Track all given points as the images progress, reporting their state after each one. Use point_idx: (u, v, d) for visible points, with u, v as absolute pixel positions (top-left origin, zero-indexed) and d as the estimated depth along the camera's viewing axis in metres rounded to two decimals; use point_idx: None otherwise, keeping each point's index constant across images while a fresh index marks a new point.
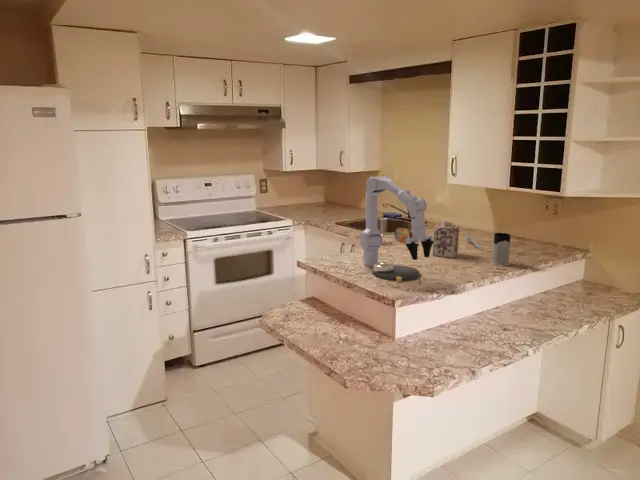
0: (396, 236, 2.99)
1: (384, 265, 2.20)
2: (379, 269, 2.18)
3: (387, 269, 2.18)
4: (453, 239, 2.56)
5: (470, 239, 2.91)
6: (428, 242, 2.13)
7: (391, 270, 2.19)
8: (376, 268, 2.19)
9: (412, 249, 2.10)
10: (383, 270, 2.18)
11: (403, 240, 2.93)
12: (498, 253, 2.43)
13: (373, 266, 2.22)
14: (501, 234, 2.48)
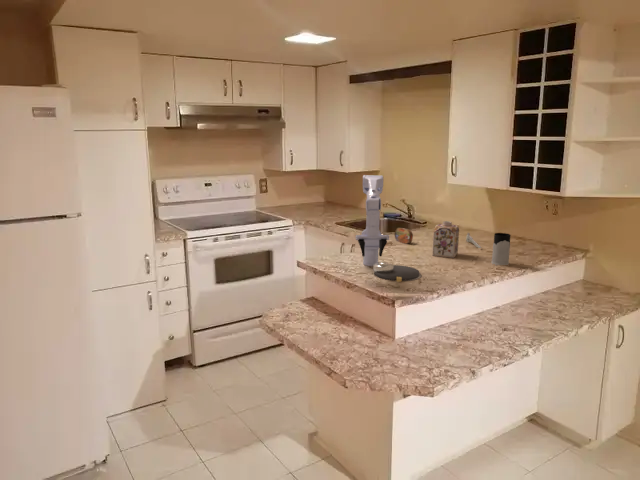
0: (396, 236, 2.99)
1: (384, 265, 2.20)
2: (379, 269, 2.18)
3: (387, 269, 2.18)
4: (453, 239, 2.56)
5: (470, 239, 2.90)
6: (381, 242, 2.16)
7: (391, 270, 2.19)
8: (376, 268, 2.19)
9: None
10: (383, 270, 2.18)
11: (403, 240, 2.93)
12: (498, 253, 2.43)
13: (373, 266, 2.22)
14: (501, 234, 2.48)
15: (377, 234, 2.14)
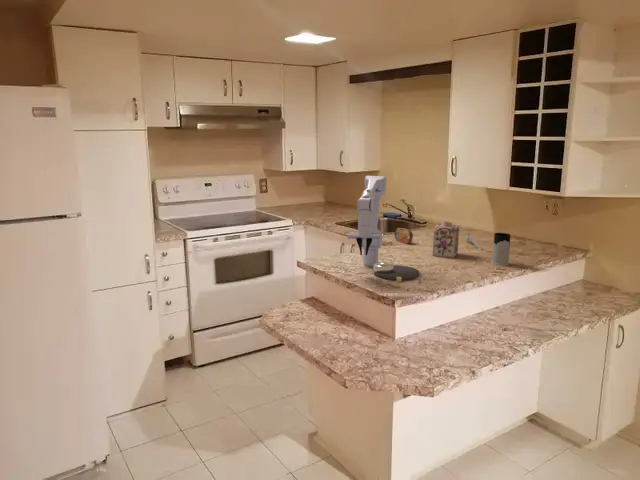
0: (396, 236, 2.99)
1: (384, 265, 2.20)
2: (379, 269, 2.18)
3: (387, 269, 2.18)
4: (453, 239, 2.56)
5: (470, 239, 2.90)
6: (366, 241, 2.19)
7: (391, 270, 2.19)
8: (376, 268, 2.19)
9: None
10: (383, 270, 2.18)
11: (403, 240, 2.93)
12: (498, 253, 2.43)
13: (373, 266, 2.22)
14: (501, 234, 2.48)
15: (368, 233, 2.17)
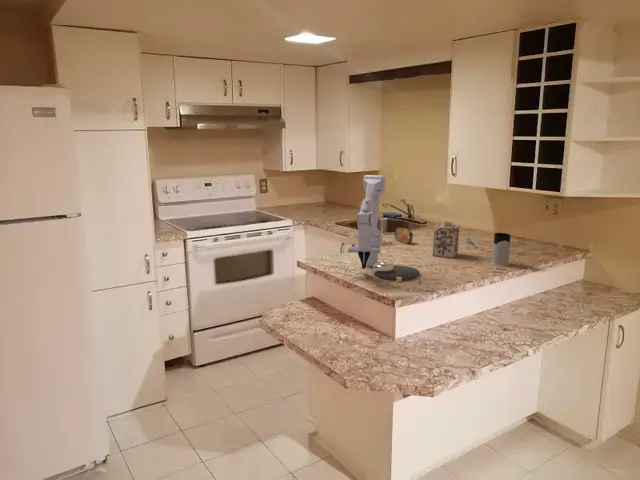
0: (396, 236, 2.99)
1: (384, 265, 2.20)
2: (379, 269, 2.18)
3: (387, 269, 2.18)
4: (453, 239, 2.56)
5: (470, 239, 2.90)
6: (364, 254, 2.20)
7: (391, 270, 2.19)
8: (376, 268, 2.19)
9: None
10: (383, 270, 2.18)
11: (403, 240, 2.93)
12: (498, 253, 2.43)
13: (373, 266, 2.22)
14: (501, 234, 2.48)
15: (368, 247, 2.19)
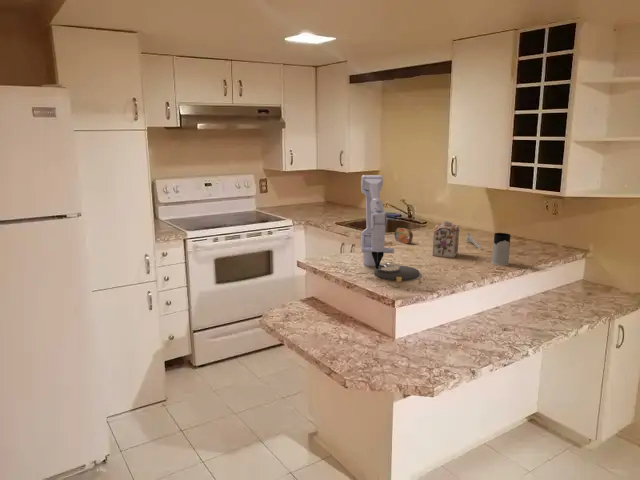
0: (396, 236, 2.99)
1: (390, 265, 2.20)
2: (385, 269, 2.18)
3: (393, 269, 2.18)
4: (453, 239, 2.56)
5: (470, 239, 2.90)
6: (378, 255, 2.20)
7: (397, 270, 2.19)
8: (382, 268, 2.19)
9: None
10: (389, 270, 2.18)
11: (403, 240, 2.93)
12: (498, 253, 2.43)
13: None
14: (501, 234, 2.48)
15: (382, 247, 2.18)
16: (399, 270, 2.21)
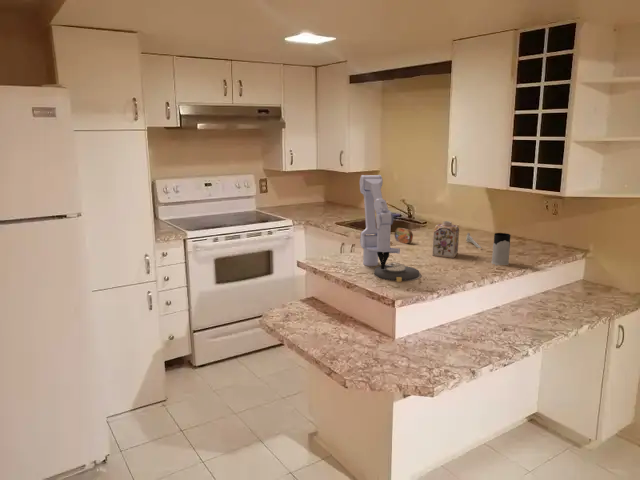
0: (396, 236, 2.99)
1: (396, 265, 2.20)
2: (391, 269, 2.18)
3: (399, 269, 2.18)
4: (453, 239, 2.56)
5: (470, 239, 2.90)
6: (383, 255, 2.19)
7: (403, 270, 2.19)
8: (388, 268, 2.19)
9: None
10: (395, 270, 2.18)
11: (403, 240, 2.93)
12: (498, 253, 2.43)
13: (385, 266, 2.22)
14: (501, 234, 2.48)
15: (387, 248, 2.18)
16: None
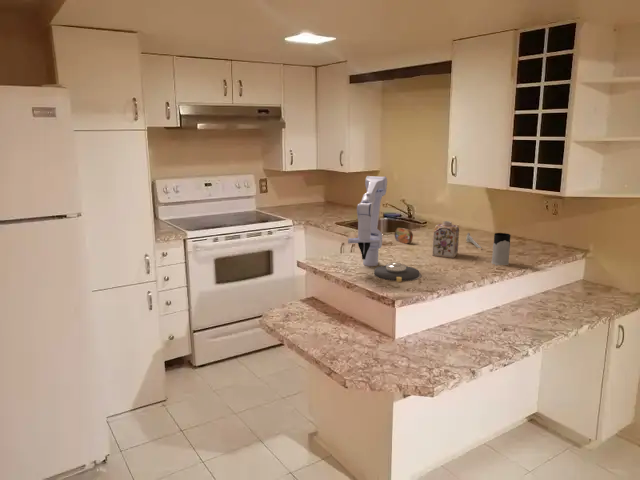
0: (396, 236, 2.99)
1: (397, 265, 2.20)
2: (392, 269, 2.18)
3: (400, 269, 2.18)
4: (453, 239, 2.56)
5: (470, 239, 2.90)
6: (364, 245, 2.21)
7: (404, 270, 2.19)
8: (389, 268, 2.19)
9: None
10: (396, 270, 2.18)
11: (403, 240, 2.93)
12: (498, 253, 2.43)
13: (386, 266, 2.22)
14: (501, 234, 2.48)
15: (368, 238, 2.20)
16: None
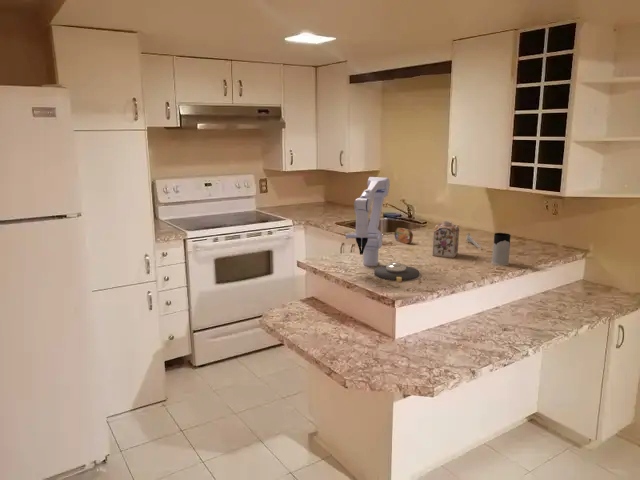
0: (396, 236, 2.99)
1: (397, 265, 2.20)
2: (392, 269, 2.18)
3: (400, 269, 2.18)
4: (453, 239, 2.56)
5: (470, 239, 2.90)
6: (362, 240, 2.22)
7: (404, 270, 2.19)
8: (389, 268, 2.19)
9: None
10: (396, 270, 2.18)
11: (403, 240, 2.93)
12: (498, 253, 2.43)
13: (386, 266, 2.22)
14: (501, 234, 2.48)
15: (366, 233, 2.20)
16: None
